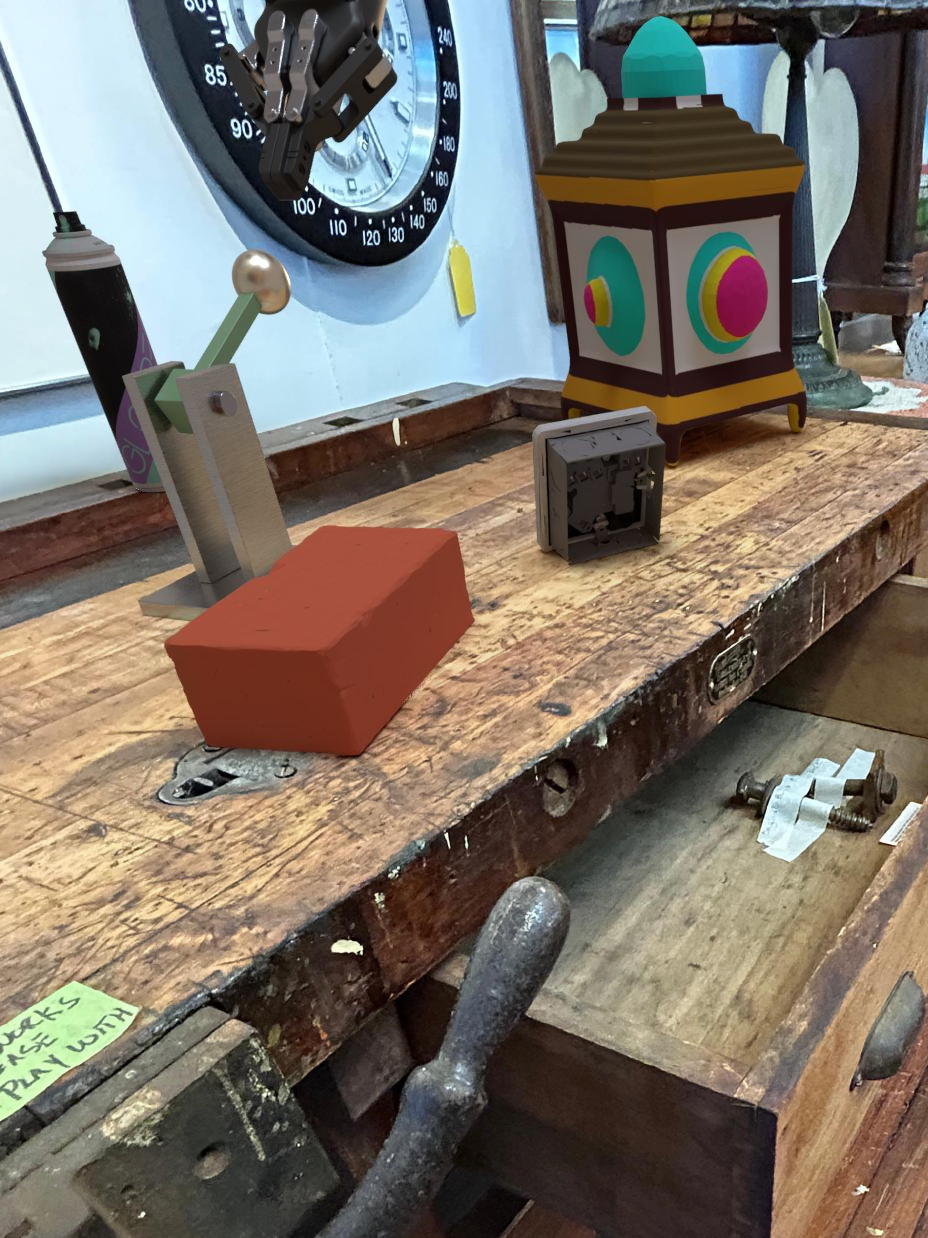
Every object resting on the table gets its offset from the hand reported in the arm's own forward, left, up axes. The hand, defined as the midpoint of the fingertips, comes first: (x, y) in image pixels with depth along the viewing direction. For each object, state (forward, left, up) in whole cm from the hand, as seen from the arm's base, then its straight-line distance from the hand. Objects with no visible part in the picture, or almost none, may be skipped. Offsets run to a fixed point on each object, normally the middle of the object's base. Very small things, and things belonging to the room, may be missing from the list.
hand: (280, 190), depth 68 cm
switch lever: (-7, -5, -9) cm, 12 cm away
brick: (-11, -27, -22) cm, 36 cm away
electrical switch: (+13, -18, -22) cm, 31 cm away
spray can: (-10, +24, -22) cm, 34 cm away
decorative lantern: (+35, +6, -22) cm, 41 cm away
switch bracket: (-11, -9, -22) cm, 26 cm away
